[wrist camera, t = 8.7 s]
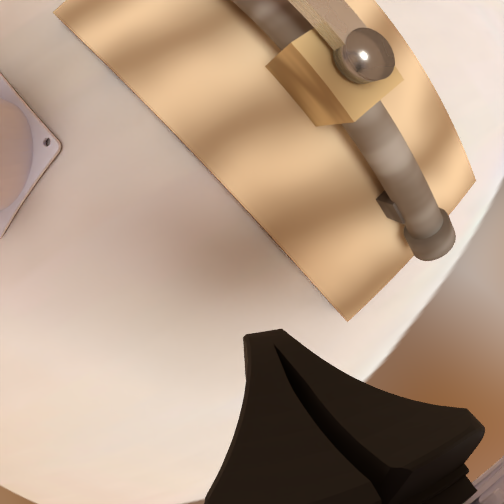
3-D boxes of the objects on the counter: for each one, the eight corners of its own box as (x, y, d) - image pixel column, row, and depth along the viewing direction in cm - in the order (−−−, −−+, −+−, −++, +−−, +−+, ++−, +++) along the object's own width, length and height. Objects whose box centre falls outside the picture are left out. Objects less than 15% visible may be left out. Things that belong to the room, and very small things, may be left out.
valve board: (60, 20, 11) (24, -16, 6) (253, -92, 10) (273, -135, 5) (338, 311, 22) (377, 355, 17) (463, 177, 21) (514, 190, 16)
